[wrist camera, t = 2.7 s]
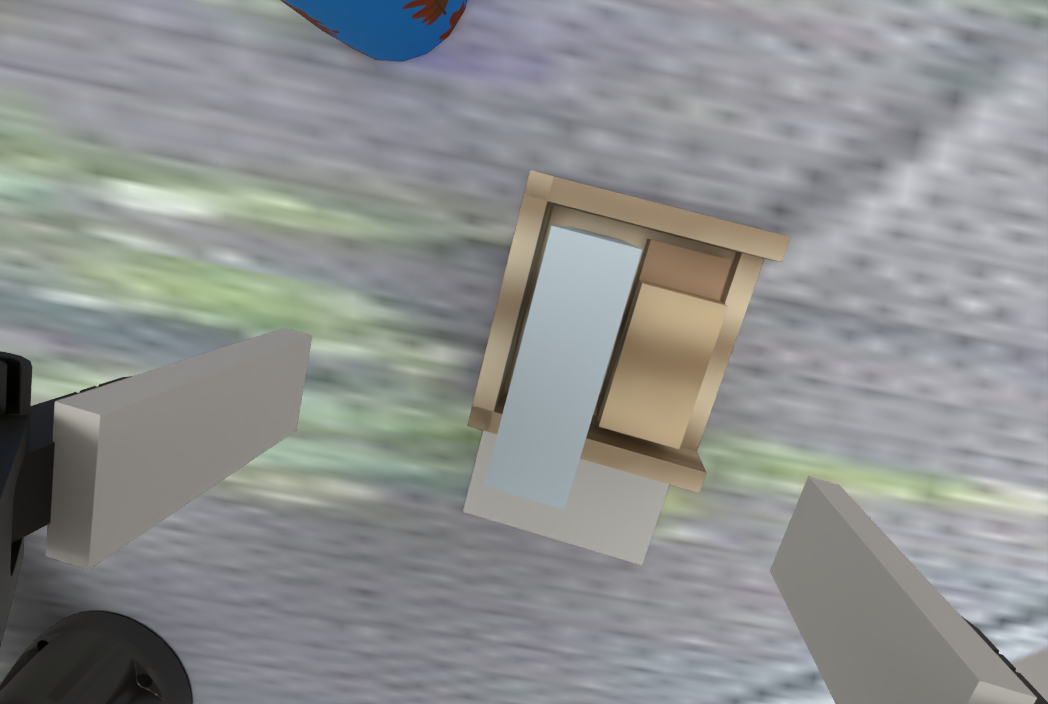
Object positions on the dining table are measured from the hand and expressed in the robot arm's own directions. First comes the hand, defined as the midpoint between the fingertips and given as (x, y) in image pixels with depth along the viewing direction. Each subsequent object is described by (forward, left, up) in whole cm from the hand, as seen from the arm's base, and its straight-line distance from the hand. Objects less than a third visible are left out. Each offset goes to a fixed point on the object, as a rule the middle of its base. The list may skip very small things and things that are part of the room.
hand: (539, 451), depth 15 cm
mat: (-14, -3, -26) cm, 30 cm away
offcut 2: (-1, -6, -23) cm, 23 cm away
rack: (0, -3, -26) cm, 26 cm away
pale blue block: (0, 0, -25) cm, 25 cm away
